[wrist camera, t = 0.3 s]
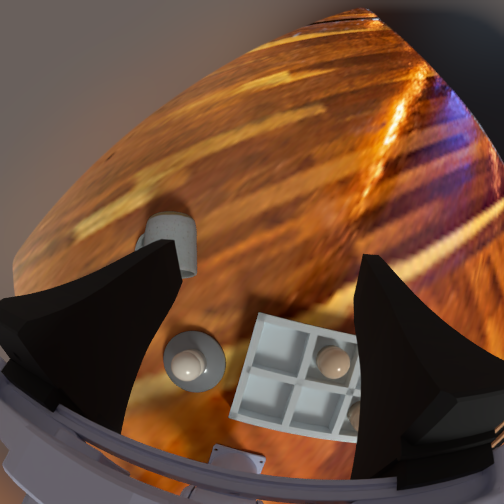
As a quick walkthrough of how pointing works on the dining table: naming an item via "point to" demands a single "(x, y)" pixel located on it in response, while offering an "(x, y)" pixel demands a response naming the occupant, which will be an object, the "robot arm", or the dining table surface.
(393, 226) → the dining table surface
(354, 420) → the brown egg
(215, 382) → the grey round disc
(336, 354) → the brown egg
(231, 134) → the dining table surface
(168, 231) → the ceramic mug
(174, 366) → the cream egg
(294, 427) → the egg carton
